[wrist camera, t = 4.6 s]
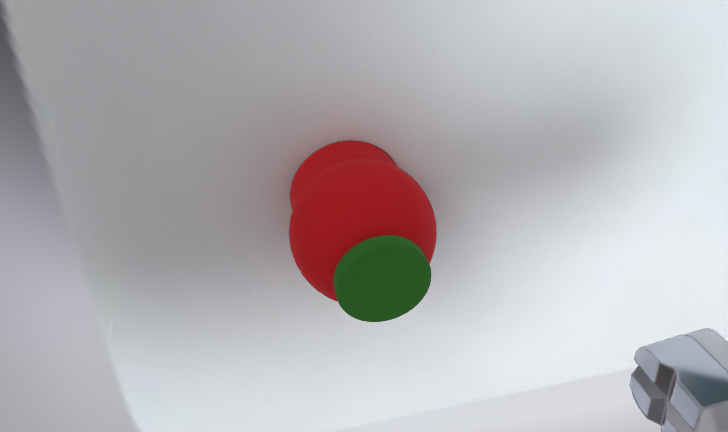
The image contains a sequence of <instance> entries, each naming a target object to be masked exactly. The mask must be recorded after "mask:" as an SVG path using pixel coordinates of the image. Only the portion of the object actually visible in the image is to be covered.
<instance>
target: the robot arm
mask: <svg viewBox="0 0 728 432" xmlns="http://www.w3.org/2000/svg"><path fill="white" fill-rule="evenodd" d="M634 360H635V362H636V363H637V364H638V365H639V366H638V367H637V368H636V370H635V371H634V372H633V373H632V374H631V382H630V387H631V390H632V394H633V398H634V399H635V401H636V403H637V405H638V407H639V408H640V410H641V411H642V413H643V414H644V415H645V417H646V418H648V419H649V420H651V421H653V422H655V423H657V424H659V425H661V432H728V342H727V341H726V340H725V339H724V338H723V337H722V336H720V335H719V334H718V333H717V332H716V331H714V330H712V329H710V328H704V329H700V330H697V331H694V332H690V333H687V334H684V335H678V336H675V337H672V338H669V339H666V340H663V341H660V342H656V343H653V344H650V345H647V346H644V347H641V348H639V349H638V350H637V351H636V354H635V358H634Z"/></svg>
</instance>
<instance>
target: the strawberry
mask: <svg viewBox="0 0 728 432" xmlns="http://www.w3.org/2000/svg"><path fill="white" fill-rule="evenodd" d="M290 200H291V206H292V210H293V211H292V215H291V220H290V227H289V237H290V246H291V251H292V254H293V257H294V259H295V262H296V264H297V266H298V268H299V270H300V271H301V273H302V275H303V276H304V277H305V278H306V280H307V281H308V282H309V283H310V284H311V285H312V286H313V287H314V288H315V289H316V290H317V291H319V292H321V293H322V294H324V295H325V296H327V297H328V298H330V299H332V300H335V301H338V303H339V304H340V306H341V307H342V309H343V310H344V311H345V312H346V313H347V314H349V315H350V316H352V317H354V318H356V319H359V320H362V321H367V322H381V321H387V320H391V319H394V318H397V317H399V316H401V315H403V314H405V313H407V312H408V311H410V310H411V309H413V308H414V307H415V306H416V305H417V304H418V303H419V302H420V301H421V300H422V299H423V297H424V296H425V294H426V292H427V290H428V288H429V285H430V281H431V268H430V265H429V264H430V261H431V259H432V256H433V253H434V249H435V244H436V221H435V216H434V212H433V209H432V206H431V203H430V201H429V199H428V198H427V196H426V194H425V192H424V191H423V189H422V188H421V187H420V186H419V184H418V183H417V182H416V181H415V180H414V179H413V178H412V177H411V176H409V175H408V174H407V173H405V172H404V171H402V170H401V169H400V168H398V167H397V166H396V164H395V163H394V161H393V160H392V158H391V157H390V156H389V155H388V154H387V153H386V152H384V151H383V150H382V149H380V148H378V147H376V146H374V145H372V144H369V143H365V142H360V141H343V142H337V143H334V144H330V145H328V146H325V147H323V148H321V149H320V150H318V151H316V152H315V153H313V154H312V155H311V156H310V157H308V158H307V159H306V160H305V161H304V163H303V164H302V165H301V166H300V168H299V169H298V171H297V173H296V174H295V177H294V179H293V182H292V186H291V192H290Z"/></svg>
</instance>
